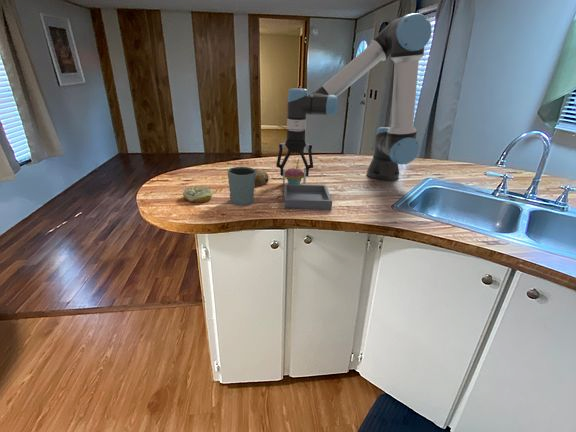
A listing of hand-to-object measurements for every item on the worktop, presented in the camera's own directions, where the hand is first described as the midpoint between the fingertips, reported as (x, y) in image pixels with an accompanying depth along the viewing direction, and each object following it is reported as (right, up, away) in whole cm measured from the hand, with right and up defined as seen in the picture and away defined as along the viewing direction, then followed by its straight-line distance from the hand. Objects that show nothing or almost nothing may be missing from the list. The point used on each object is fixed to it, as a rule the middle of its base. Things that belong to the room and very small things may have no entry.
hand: (294, 183), depth 134 cm
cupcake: (0, -1, 0) cm, 1 cm away
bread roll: (-17, 0, +2) cm, 17 cm away
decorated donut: (-37, -8, -17) cm, 41 cm away
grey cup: (-20, -9, -18) cm, 28 cm away
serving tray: (+4, -8, -16) cm, 18 cm away
